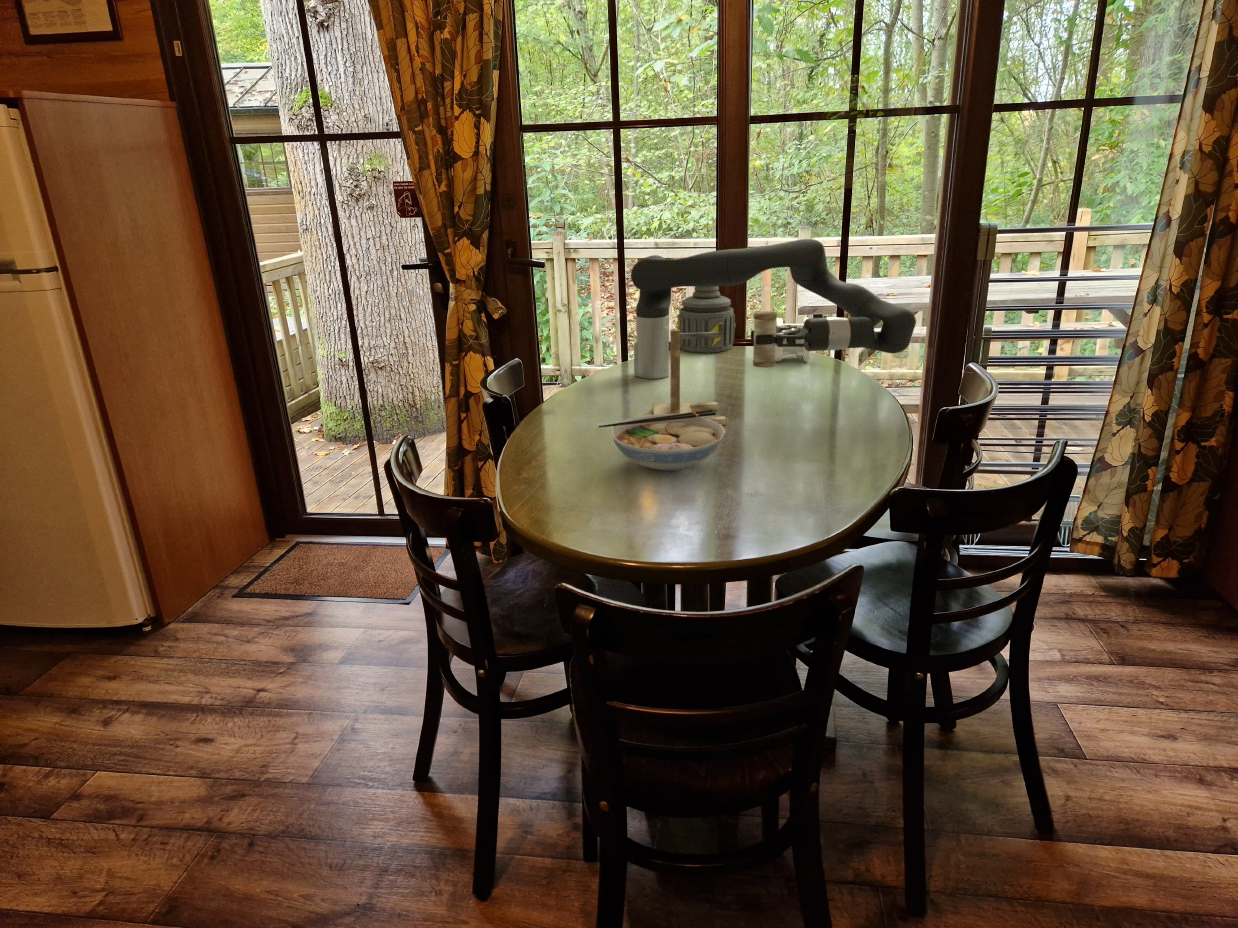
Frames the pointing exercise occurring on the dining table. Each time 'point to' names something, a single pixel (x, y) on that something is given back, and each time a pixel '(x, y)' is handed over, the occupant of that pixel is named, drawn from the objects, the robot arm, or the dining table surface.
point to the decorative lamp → (706, 320)
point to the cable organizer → (790, 350)
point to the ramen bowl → (668, 439)
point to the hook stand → (675, 378)
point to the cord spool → (763, 325)
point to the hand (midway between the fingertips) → (753, 337)
